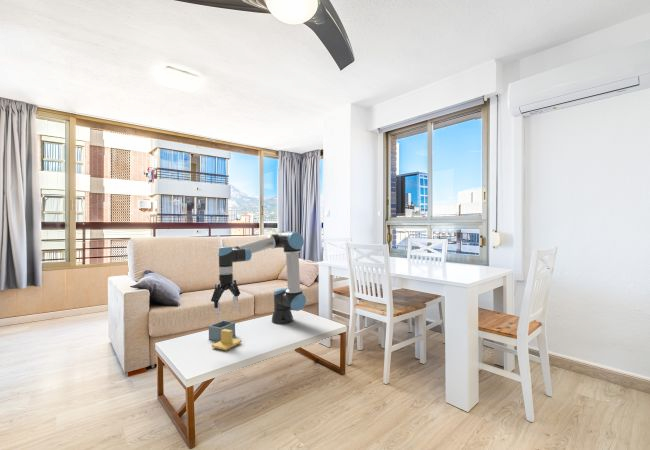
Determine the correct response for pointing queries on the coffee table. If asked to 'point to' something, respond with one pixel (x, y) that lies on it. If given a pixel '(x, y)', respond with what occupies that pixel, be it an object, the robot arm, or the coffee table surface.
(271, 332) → the coffee table surface
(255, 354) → the coffee table surface
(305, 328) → the coffee table surface
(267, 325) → the coffee table surface
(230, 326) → the box
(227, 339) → the lid
